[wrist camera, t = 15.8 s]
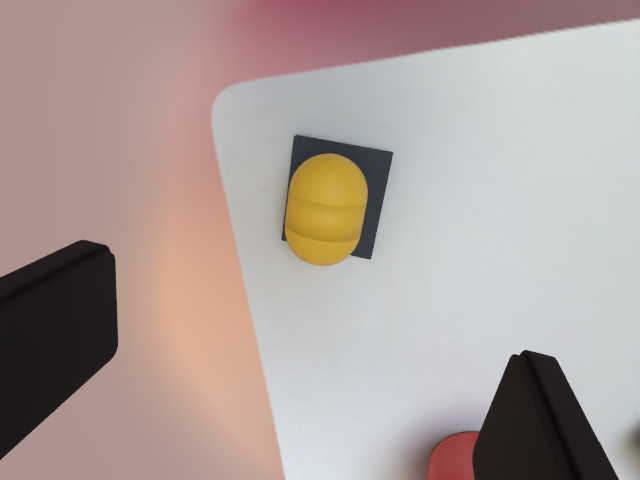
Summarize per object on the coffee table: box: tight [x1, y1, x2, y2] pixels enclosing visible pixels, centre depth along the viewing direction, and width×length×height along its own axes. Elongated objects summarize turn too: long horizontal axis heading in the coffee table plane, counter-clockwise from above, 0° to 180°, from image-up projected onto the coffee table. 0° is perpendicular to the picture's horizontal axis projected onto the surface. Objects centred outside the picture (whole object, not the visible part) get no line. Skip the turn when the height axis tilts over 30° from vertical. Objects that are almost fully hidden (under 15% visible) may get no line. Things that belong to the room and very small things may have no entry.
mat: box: [282, 135, 393, 259], centre depth 31 cm, size 8×7×1 cm
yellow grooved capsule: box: [285, 154, 368, 266], centre depth 28 cm, size 8×5×5 cm
